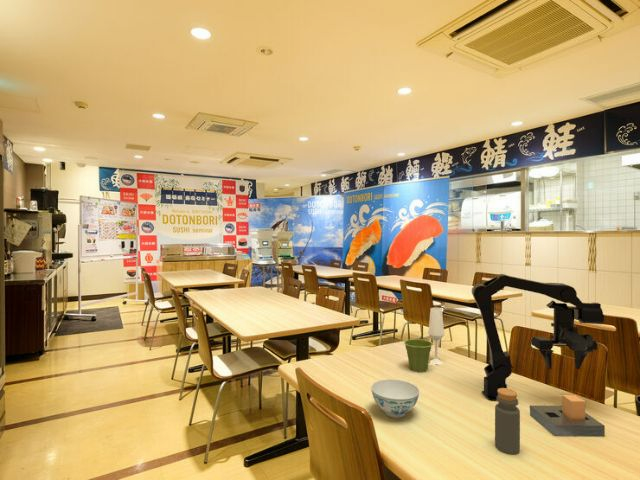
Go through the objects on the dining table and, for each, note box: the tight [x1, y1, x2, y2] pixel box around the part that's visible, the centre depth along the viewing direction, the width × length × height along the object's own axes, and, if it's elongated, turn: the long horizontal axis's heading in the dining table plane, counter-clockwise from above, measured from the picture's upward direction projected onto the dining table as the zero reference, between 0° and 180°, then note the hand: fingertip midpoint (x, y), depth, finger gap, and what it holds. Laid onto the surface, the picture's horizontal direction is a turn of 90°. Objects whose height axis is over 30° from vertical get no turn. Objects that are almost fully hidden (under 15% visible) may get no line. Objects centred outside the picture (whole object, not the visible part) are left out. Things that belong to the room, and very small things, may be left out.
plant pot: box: [403, 338, 434, 373], centre depth 152 cm, size 12×12×11 cm
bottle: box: [494, 387, 521, 455], centre depth 95 cm, size 6×6×15 cm
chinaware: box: [370, 378, 420, 419], centre depth 115 cm, size 15×15×8 cm
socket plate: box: [529, 404, 606, 437], centre depth 107 cm, size 14×12×3 cm
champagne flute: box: [427, 307, 445, 364], centre depth 160 cm, size 7×7×24 cm
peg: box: [561, 394, 586, 420], centre depth 107 cm, size 4×4×8 cm
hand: (563, 368), depth 120 cm, fingers open, 9 cm apart
